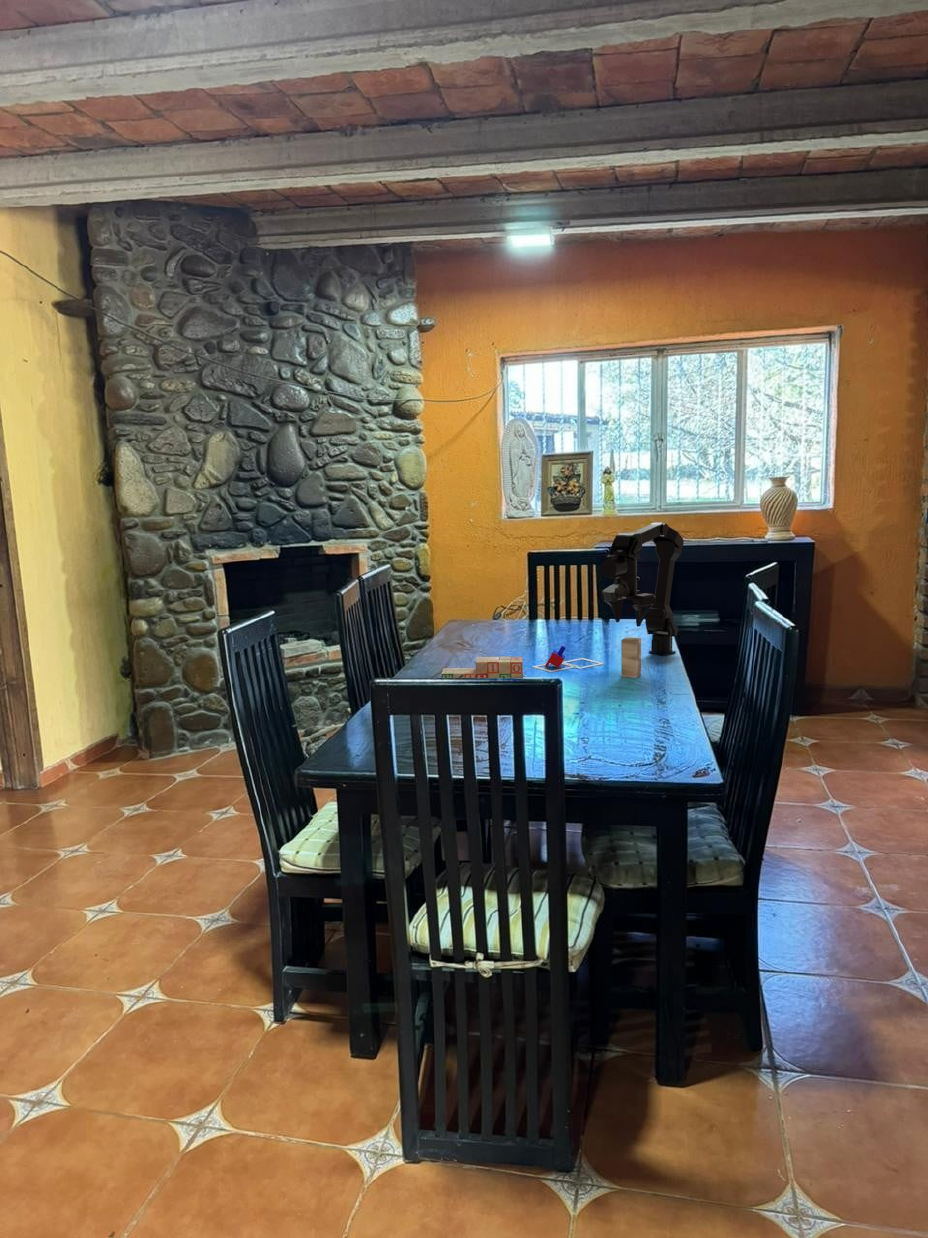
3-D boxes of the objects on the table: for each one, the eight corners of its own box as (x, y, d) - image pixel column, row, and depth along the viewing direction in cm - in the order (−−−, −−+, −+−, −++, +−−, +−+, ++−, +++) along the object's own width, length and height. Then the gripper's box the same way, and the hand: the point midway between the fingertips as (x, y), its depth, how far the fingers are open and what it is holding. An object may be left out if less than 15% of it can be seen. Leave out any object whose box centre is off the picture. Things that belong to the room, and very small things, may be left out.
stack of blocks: (441, 707, 212) (440, 662, 210) (444, 701, 218) (443, 656, 216) (523, 707, 210) (522, 661, 208) (523, 700, 216) (522, 656, 214)
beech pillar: (626, 673, 242) (626, 637, 240) (640, 674, 240) (641, 638, 238) (621, 676, 238) (621, 639, 236) (636, 677, 236) (636, 641, 234)
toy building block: (556, 673, 251) (568, 651, 249) (544, 666, 252) (556, 644, 249) (557, 670, 255) (570, 648, 252) (546, 663, 255) (558, 642, 253)
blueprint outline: (579, 657, 264) (579, 657, 264) (604, 663, 254) (604, 663, 254) (531, 667, 254) (531, 666, 254) (555, 673, 244) (555, 673, 244)
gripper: (587, 574, 251) (588, 623, 254) (629, 580, 235) (629, 632, 238) (614, 570, 257) (614, 618, 260) (656, 576, 241) (657, 627, 244)
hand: (627, 624), depth 250 cm, fingers open, 9 cm apart
